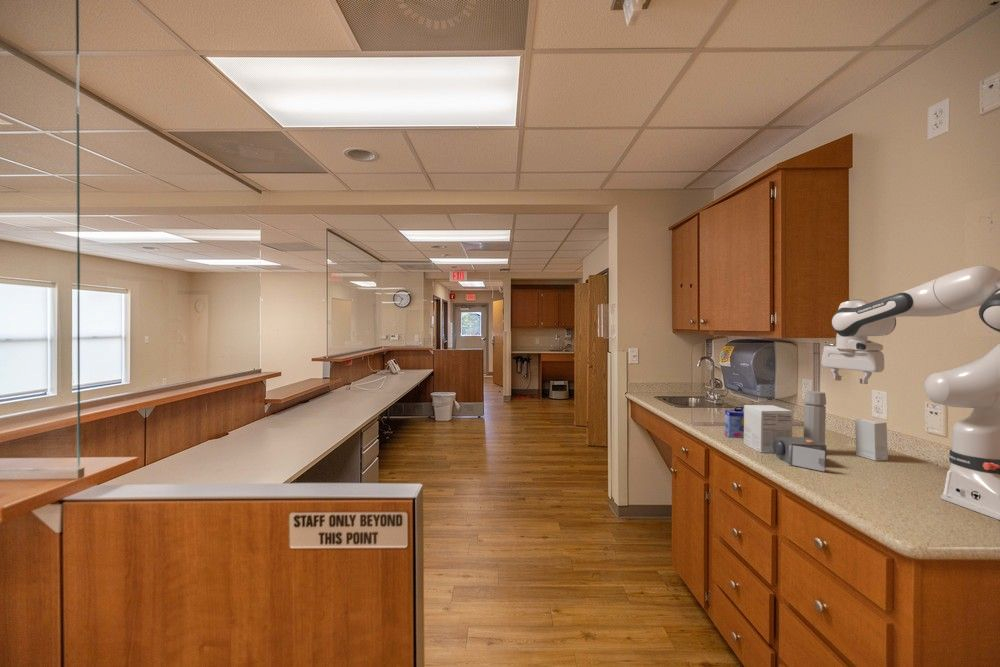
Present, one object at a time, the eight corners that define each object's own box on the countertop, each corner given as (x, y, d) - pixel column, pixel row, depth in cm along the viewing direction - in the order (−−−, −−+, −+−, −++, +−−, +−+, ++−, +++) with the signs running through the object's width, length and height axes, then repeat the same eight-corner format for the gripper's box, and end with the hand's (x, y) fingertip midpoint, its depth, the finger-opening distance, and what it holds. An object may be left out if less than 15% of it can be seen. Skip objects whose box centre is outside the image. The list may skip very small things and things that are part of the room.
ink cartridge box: (728, 437, 197) (729, 406, 197) (723, 434, 203) (724, 404, 203) (751, 438, 197) (751, 407, 196) (745, 435, 202) (745, 405, 202)
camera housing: (826, 466, 157) (826, 443, 157) (787, 465, 159) (787, 441, 159) (807, 457, 168) (808, 435, 168) (771, 456, 170) (771, 434, 170)
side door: (823, 471, 151) (824, 451, 150) (788, 464, 158) (788, 445, 158) (824, 470, 152) (825, 451, 151) (789, 463, 159) (789, 444, 159)
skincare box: (888, 460, 165) (889, 422, 165) (874, 461, 164) (875, 423, 164) (866, 454, 173) (867, 418, 173) (853, 454, 172) (854, 418, 172)
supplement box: (793, 453, 174) (793, 411, 173) (760, 453, 174) (761, 410, 174) (772, 444, 187) (773, 404, 187) (742, 444, 187) (743, 404, 187)
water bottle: (829, 455, 171) (831, 393, 171) (807, 454, 173) (809, 393, 172) (817, 448, 180) (818, 390, 180) (796, 447, 182) (798, 389, 181)
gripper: (817, 343, 165) (816, 378, 165) (873, 345, 145) (872, 386, 145) (830, 343, 166) (829, 378, 166) (888, 345, 146) (887, 385, 146)
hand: (850, 382), depth 155 cm, fingers open, 8 cm apart
